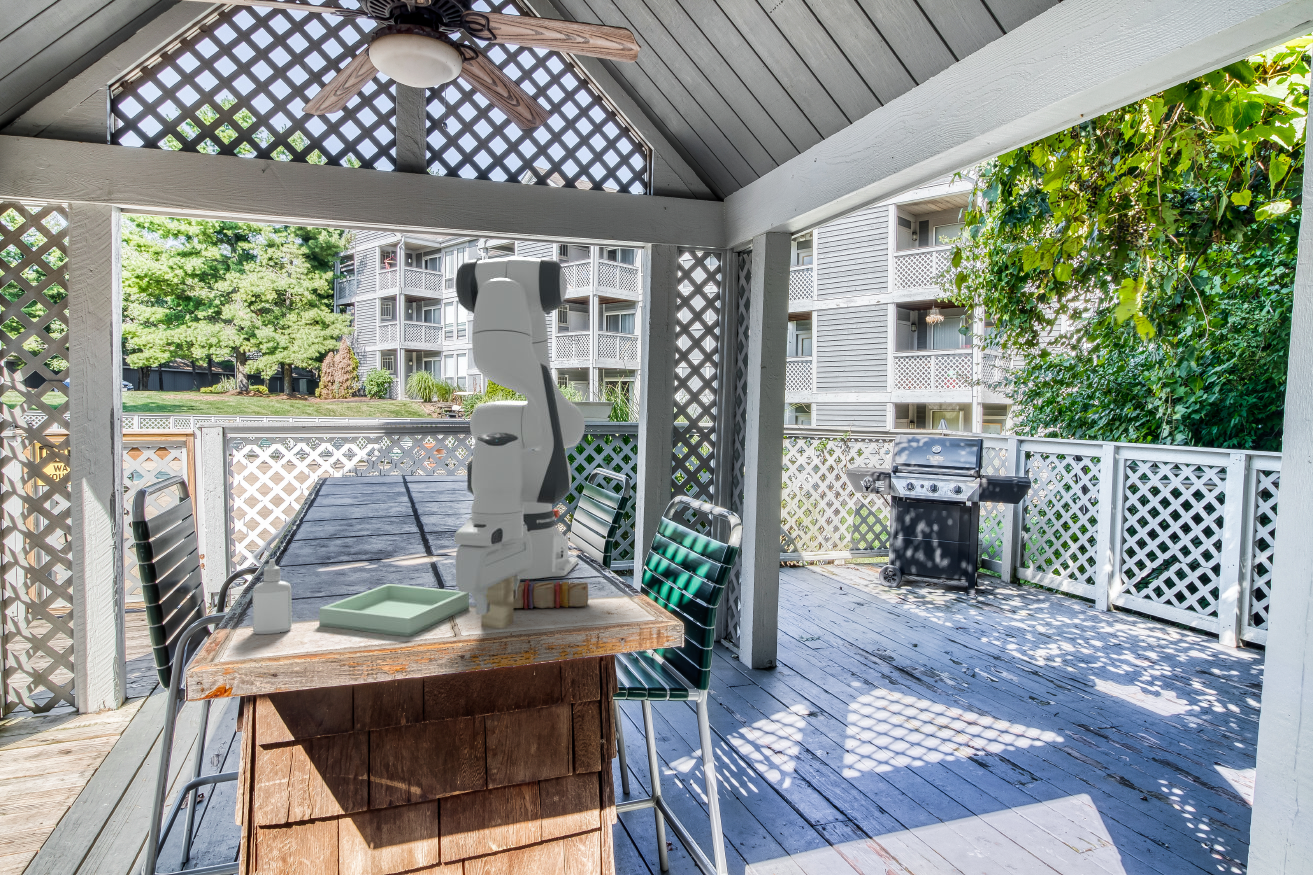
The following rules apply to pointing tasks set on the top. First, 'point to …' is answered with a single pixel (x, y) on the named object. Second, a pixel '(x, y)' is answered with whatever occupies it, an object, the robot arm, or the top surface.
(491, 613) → the birch block
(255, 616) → the eye dropper bottle
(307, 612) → the top surface
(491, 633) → the top surface
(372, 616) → the tray
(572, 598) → the skewer
